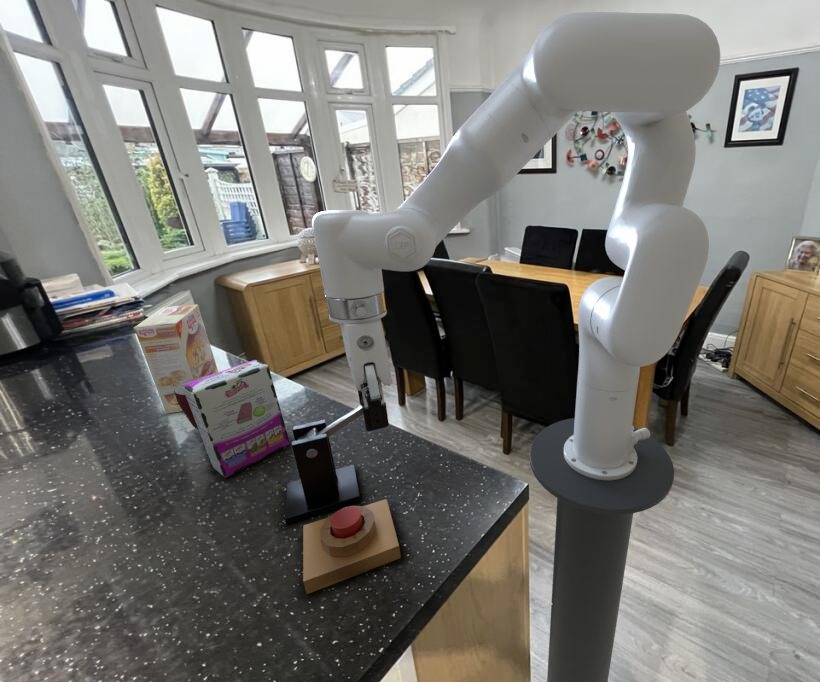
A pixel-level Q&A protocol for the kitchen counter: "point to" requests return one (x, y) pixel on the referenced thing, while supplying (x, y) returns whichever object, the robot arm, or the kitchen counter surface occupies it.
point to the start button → (346, 522)
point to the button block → (348, 548)
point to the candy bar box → (237, 416)
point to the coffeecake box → (175, 350)
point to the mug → (185, 402)
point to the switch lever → (337, 423)
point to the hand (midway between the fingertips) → (374, 417)
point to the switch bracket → (318, 478)
